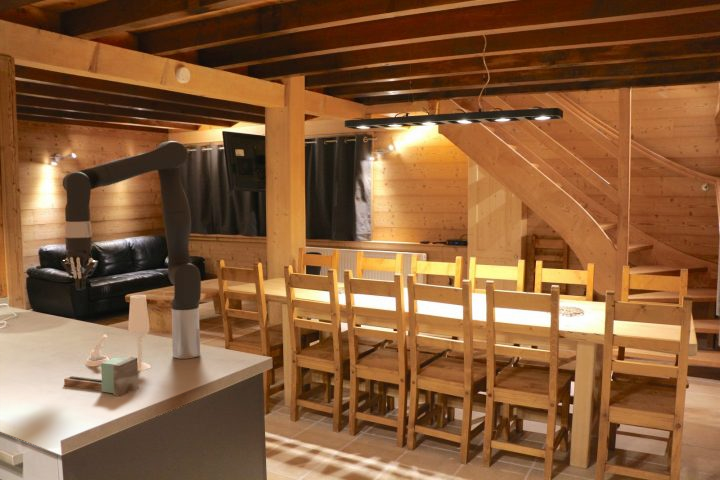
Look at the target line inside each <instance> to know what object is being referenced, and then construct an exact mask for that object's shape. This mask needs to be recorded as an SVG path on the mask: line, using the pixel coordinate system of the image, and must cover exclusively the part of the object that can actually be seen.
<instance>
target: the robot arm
mask: <svg viewBox="0 0 720 480" xmlns="http://www.w3.org/2000/svg"><path fill="white" fill-rule="evenodd" d="M188 154H189V153H188V150H187V148H186V146H185V145H183V143H181V142H179V141H176V140H175V141H174V140H170V141H164V142H161V143H159V144H158V145H157V146H156V148H155V149H153V150H149V151H147V152H144V153H141V154H136V155H132V156H128V157H122V158H118V159H116V160H112V161H111V160H110V161H107V162H104V163H102V164H101V163H100V164H98V165H95V166H93V167H89V168H84V169H80V170H77V171H76V170H75V171H73V172H72V171H71V172H69V173H67V174H66V175H65V176H64V177H63V178H62V186H63V189H64V190H65V191H66V205H65V208H64V209H65V210H64V211H65V212H64V213H65V214H64V215H65V225H64V226H65V227H64V235H65V236H64V237H65V250H66V251H67V253H66V258H65V259H63V260H60V263H61V265H62V267H63V268H64V269H65V271H66V272H67V274H68V276H70V277H73V278H74V284H75V285H74V287H75V289H76V291H84V290H85V289H86V288H87V287H86V286H87V284H86V283H87V282H86V278H87V277H92V275H93V273H94V271H95V270H96V269H97V266H98V265H99V261H98V260H94V258H93V255H92V253H91V251H92V250H93V242H92V241H93V237H92V236H93V234H92V225H91V212H90V210H91V209H90V203H91V202H90V201H91V194H92V193H91V192H92V190H94V189H96V188H100V187H108V186H111V185H114V184H117V183H121V182H124V181H126V180H129V179H132V178H135V177H137V176H141V175H143V174H144V175H145V174H146V173H150V172H154V171H157V174H158V178H159V184H160V199H161V207H162V208H161V211H162V218H163V219H162V220H163V226H164V227H163V228H164V234H165V240H166V246H167V256H168V257H167V267H168V268H167V271H168V274H167V275H168V279H169V282H170V283H171V284H172V285H173V286H174V288H173V289H174V295H173V299H172V300H171V331H172V332H171V333H172V335H171V336H172V357H173V358H175V359H181V360H182V359H183V360H185V359H192V358H196V357H201V329H200V301H201V296H202V295H201V293H202V279H201V277H202V276H201V272H200V269H199V268H198V267H197V266H196V265H194V264H193V263H192V262H191V258H190V251H189V246H190V245H189V244H190V243H189V242H190V238H191V237H190V236H191V232H192V217H191V208H190V204H189V199H188V197H187V194H186V191H185V190H184V186H183V184H182V178H181V167H182V166H183V165H185V163H186V162H187V160H188Z"/></svg>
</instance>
